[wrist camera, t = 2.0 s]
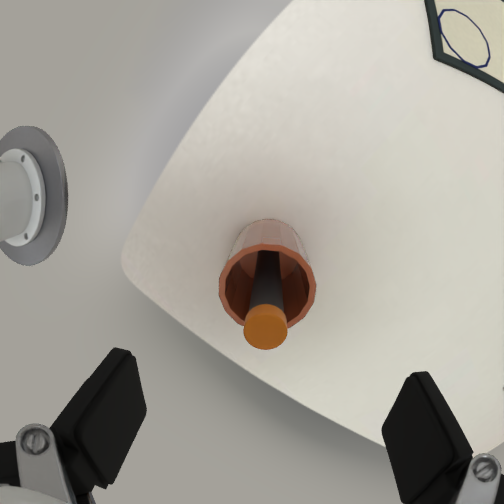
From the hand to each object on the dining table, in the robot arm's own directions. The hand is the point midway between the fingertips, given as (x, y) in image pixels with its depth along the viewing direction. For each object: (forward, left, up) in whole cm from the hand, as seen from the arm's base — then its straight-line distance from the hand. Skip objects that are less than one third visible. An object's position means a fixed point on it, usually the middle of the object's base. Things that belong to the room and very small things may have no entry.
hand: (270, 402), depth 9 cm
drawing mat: (+23, +29, -17) cm, 41 cm away
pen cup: (0, 0, -17) cm, 17 cm away
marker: (0, 0, -16) cm, 16 cm away
